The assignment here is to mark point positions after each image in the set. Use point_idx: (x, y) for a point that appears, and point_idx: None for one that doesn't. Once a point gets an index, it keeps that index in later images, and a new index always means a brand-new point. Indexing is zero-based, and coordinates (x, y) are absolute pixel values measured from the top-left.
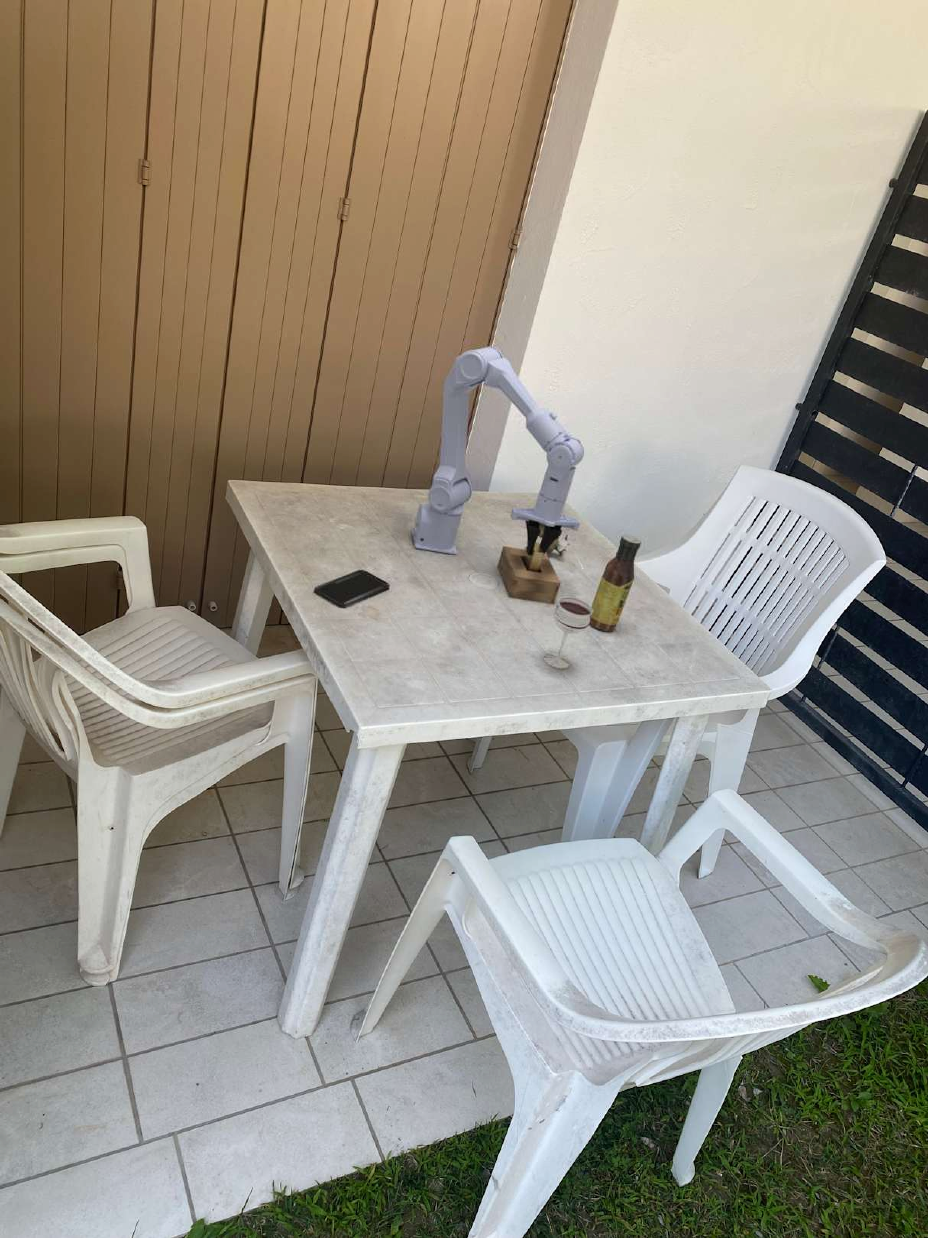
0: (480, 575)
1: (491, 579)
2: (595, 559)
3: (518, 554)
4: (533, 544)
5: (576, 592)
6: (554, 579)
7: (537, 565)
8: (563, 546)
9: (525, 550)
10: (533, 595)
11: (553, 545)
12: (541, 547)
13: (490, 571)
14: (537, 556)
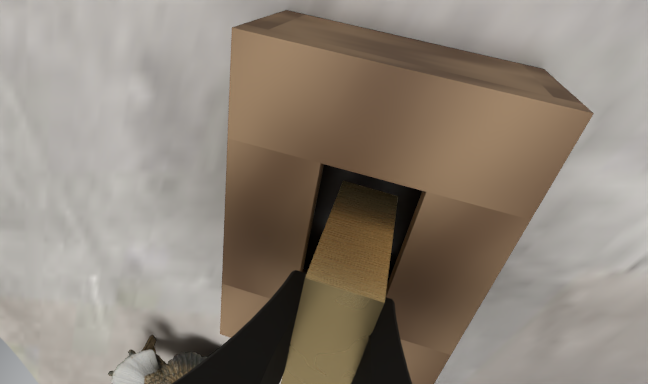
0: (564, 264)
1: (526, 233)
2: (50, 314)
3: None
4: (383, 372)
5: (141, 130)
6: (263, 82)
7: (346, 214)
8: (131, 365)
9: None
10: (407, 44)
11: (166, 376)
12: (289, 342)
13: None
14: (354, 263)
